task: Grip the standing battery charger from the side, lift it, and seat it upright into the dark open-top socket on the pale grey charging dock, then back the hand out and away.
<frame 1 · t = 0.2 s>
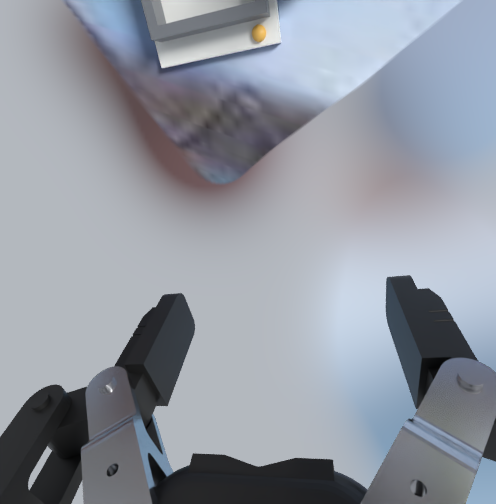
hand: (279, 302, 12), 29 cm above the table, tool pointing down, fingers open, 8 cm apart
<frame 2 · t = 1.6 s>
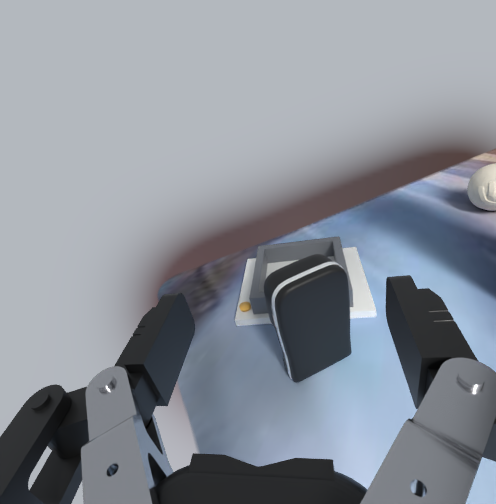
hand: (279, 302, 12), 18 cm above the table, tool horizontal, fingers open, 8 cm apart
battery charger: (314, 358, 32), on the table
baseball: (491, 209, 47), on the table
charging dock: (301, 286, 41), on the table
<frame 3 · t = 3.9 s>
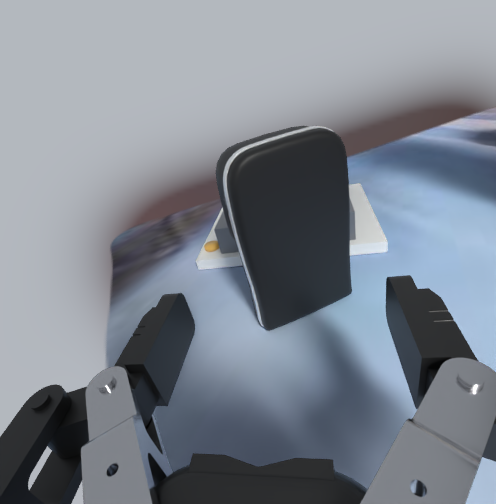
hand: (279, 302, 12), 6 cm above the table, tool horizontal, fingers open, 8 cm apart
battery charger: (298, 302, 22), on the table
charging dock: (288, 226, 32), on the table
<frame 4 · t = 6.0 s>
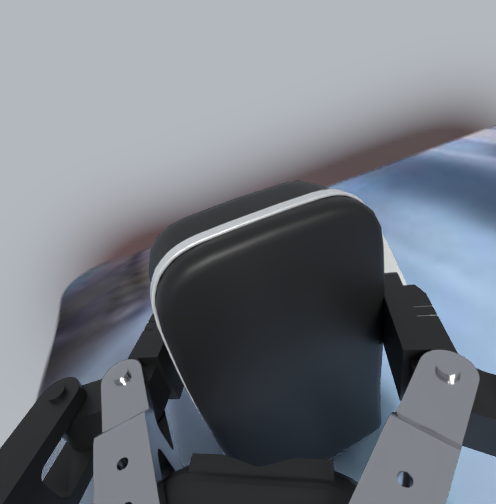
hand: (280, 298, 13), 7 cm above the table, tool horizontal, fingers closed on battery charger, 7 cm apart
battery charger: (298, 430, 15), on the table, touching gripper
charging dock: (284, 280, 24), on the table
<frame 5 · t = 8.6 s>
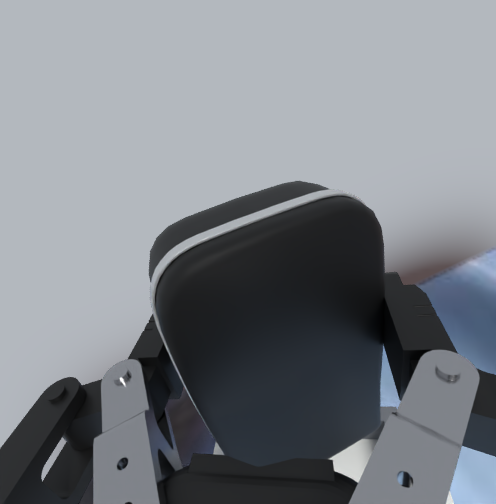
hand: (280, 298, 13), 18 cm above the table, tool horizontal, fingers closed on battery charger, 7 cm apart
battery charger: (298, 430, 15), point 11 cm above the table, touching gripper
when the fingers open (8 cm above the table, at t = 11.6 s): battery charger stays where it is, resting on charging dock.
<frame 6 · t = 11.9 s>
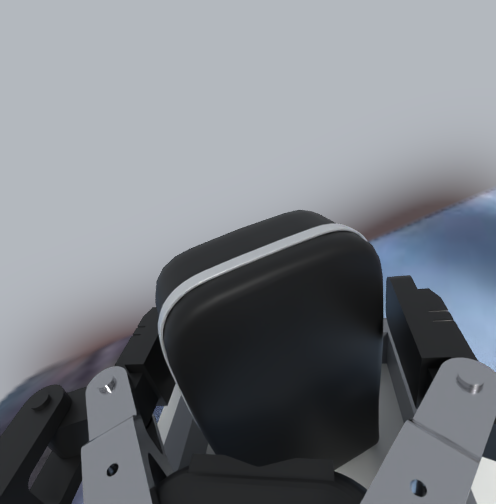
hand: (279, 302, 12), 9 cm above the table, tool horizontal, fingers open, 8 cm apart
battery charger: (299, 444, 15), point 1 cm above the table, touching charging dock
charging dock: (305, 461, 15), on the table
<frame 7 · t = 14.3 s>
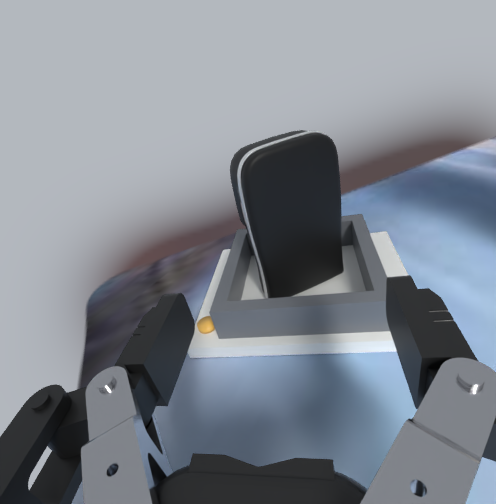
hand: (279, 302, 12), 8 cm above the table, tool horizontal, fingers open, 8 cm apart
battery charger: (298, 281, 26), point 1 cm above the table, touching charging dock
charging dock: (302, 291, 26), on the table
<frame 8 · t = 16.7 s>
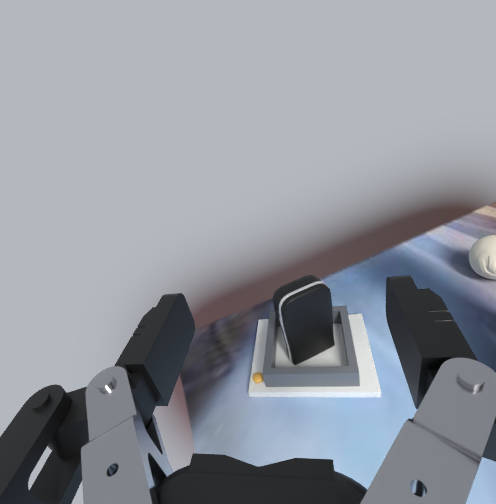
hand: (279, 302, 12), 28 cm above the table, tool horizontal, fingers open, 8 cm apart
battery charger: (308, 348, 44), point 1 cm above the table, touching charging dock
baseball: (491, 276, 50), on the table
charging dock: (310, 354, 44), on the table
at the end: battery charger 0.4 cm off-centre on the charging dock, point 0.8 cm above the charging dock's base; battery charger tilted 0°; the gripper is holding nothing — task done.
